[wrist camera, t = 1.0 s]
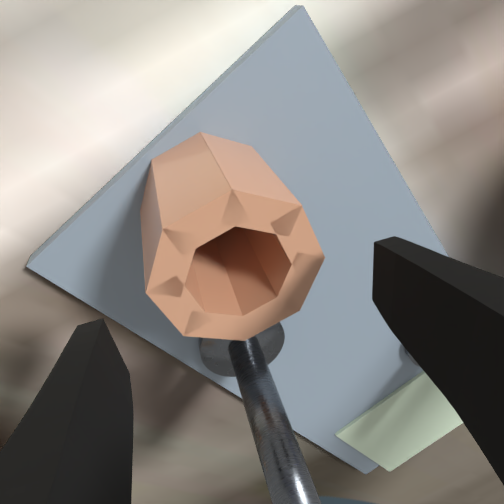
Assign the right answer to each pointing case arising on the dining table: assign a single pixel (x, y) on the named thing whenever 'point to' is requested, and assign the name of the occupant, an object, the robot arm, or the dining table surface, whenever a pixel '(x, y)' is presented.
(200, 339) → the posts
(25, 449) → the robot arm
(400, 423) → the pad
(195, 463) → the dining table surface
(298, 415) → the board
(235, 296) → the octagonal hollow tube
